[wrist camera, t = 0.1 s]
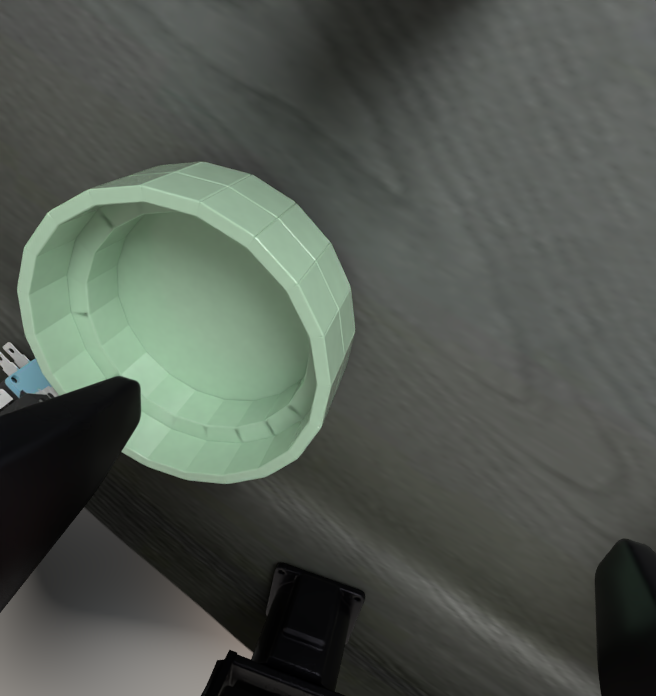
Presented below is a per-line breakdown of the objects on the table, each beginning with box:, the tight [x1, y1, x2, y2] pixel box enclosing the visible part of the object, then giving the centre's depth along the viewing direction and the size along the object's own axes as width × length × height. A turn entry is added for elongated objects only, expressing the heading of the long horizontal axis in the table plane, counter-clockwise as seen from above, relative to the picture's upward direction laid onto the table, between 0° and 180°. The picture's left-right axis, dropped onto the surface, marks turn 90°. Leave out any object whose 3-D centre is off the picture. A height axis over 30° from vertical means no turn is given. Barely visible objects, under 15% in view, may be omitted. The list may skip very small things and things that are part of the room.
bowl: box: [17, 161, 355, 484], centre depth 23 cm, size 14×14×6 cm
